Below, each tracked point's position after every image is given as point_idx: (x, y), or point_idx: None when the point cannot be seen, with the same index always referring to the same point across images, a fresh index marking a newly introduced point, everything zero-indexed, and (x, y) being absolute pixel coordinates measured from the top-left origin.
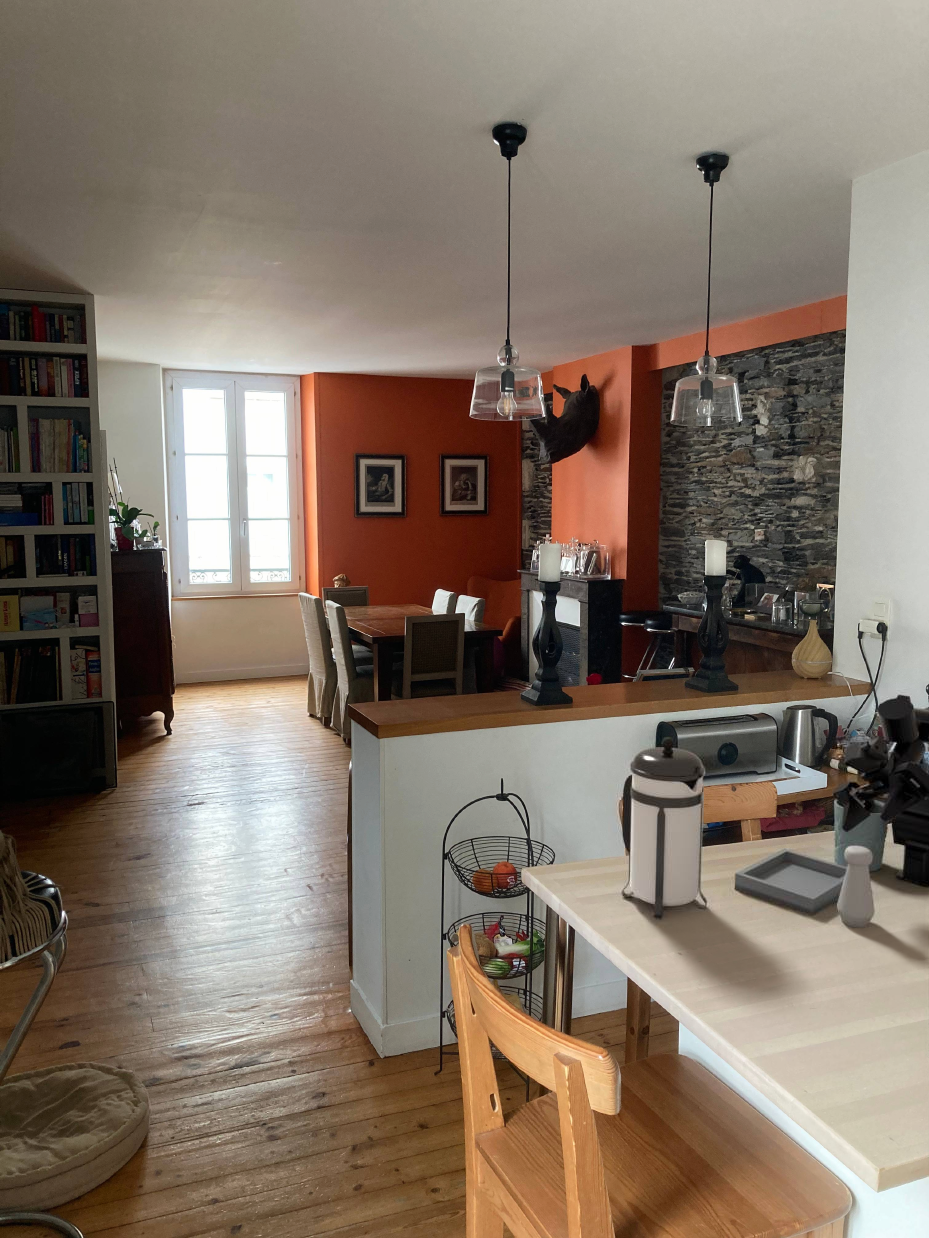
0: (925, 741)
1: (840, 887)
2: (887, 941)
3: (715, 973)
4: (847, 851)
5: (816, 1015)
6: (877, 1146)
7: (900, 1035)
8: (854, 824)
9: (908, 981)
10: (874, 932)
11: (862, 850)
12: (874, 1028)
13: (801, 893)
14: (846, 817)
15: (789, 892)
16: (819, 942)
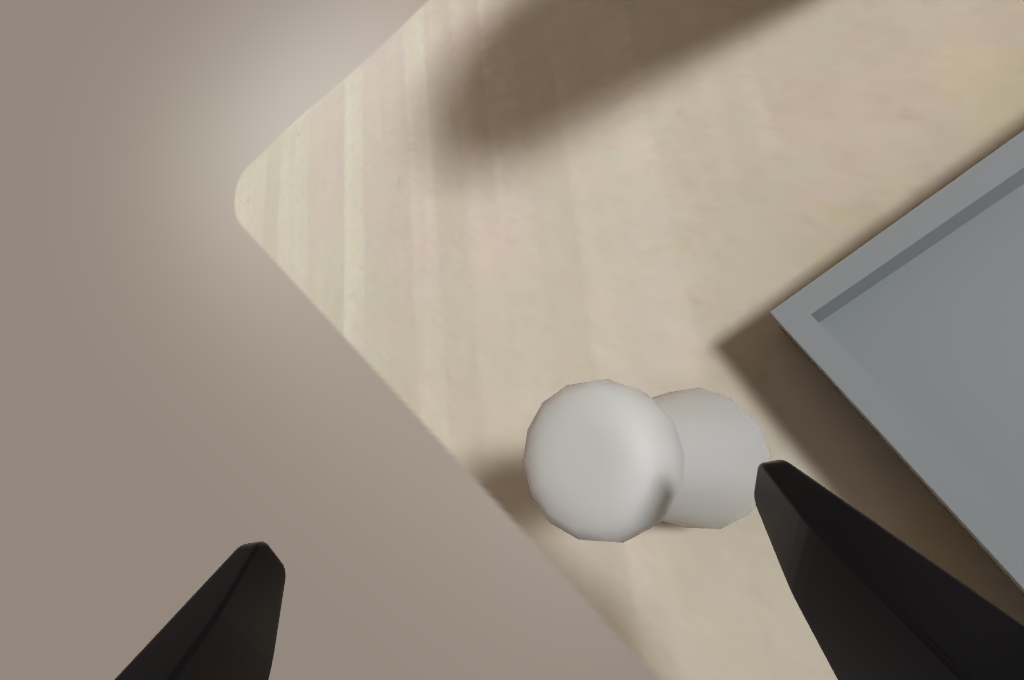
0: None
1: (993, 557)
2: None
3: (513, 22)
4: (589, 383)
5: (384, 182)
6: (246, 184)
7: (329, 288)
8: (824, 639)
9: (422, 396)
10: None
11: (548, 461)
12: (347, 258)
13: (840, 282)
14: (849, 566)
15: (876, 239)
16: (596, 276)
